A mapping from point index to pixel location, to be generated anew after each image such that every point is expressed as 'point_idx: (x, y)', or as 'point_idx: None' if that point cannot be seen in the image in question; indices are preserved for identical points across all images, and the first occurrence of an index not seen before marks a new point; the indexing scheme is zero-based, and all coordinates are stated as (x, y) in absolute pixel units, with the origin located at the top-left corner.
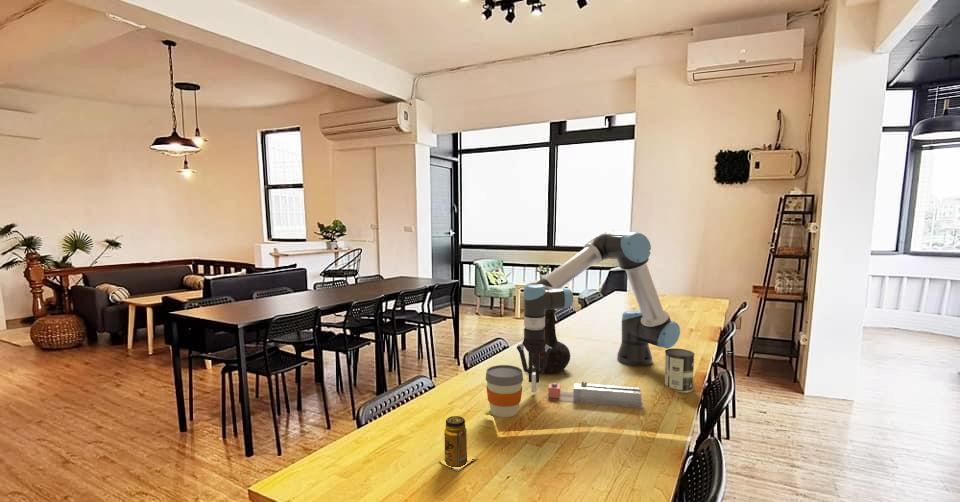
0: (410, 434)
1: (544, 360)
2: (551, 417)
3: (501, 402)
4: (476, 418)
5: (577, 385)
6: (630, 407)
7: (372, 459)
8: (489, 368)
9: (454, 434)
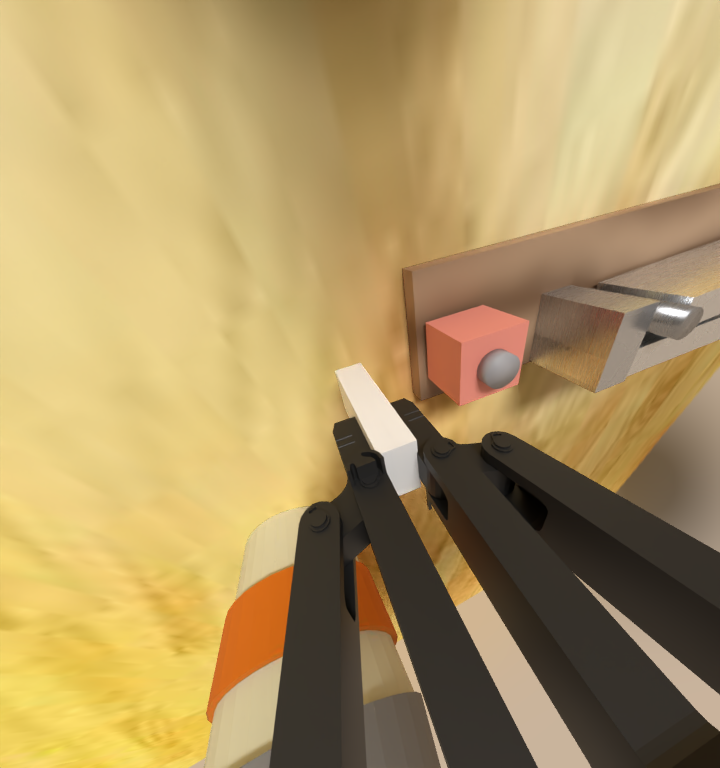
0: (142, 708)
1: (643, 616)
2: None
3: None
4: (230, 598)
5: (629, 342)
6: None
7: (174, 740)
8: None
9: None
